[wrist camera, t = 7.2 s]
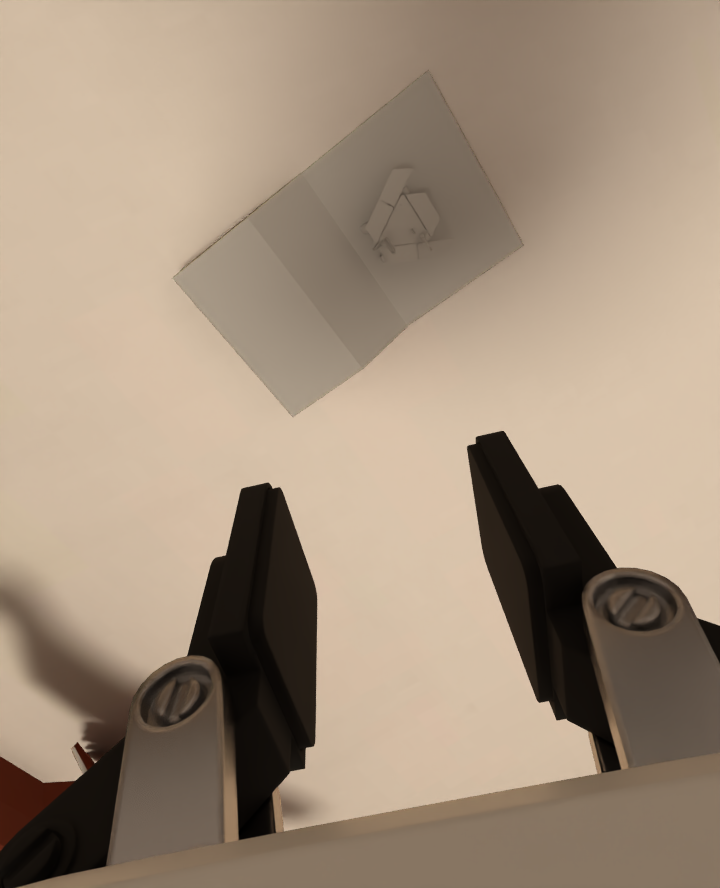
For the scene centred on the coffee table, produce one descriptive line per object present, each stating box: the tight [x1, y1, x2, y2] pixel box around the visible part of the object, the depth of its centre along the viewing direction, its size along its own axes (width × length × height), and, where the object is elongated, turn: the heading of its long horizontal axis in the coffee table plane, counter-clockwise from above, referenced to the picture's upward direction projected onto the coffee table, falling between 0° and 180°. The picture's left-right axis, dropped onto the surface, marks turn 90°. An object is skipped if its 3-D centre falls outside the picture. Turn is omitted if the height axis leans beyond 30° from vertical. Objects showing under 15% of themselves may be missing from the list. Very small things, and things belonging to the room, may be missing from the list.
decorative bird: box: [0, 742, 95, 851], centre depth 30 cm, size 28×18×15 cm, turn 34°
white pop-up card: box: [173, 70, 524, 417], centre depth 22 cm, size 7×12×2 cm, turn 125°
